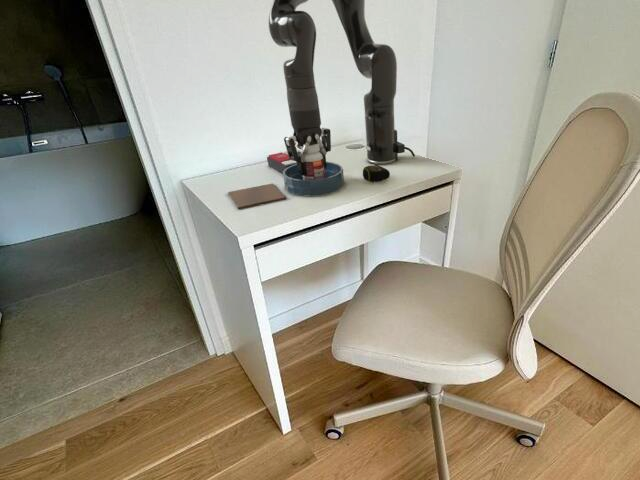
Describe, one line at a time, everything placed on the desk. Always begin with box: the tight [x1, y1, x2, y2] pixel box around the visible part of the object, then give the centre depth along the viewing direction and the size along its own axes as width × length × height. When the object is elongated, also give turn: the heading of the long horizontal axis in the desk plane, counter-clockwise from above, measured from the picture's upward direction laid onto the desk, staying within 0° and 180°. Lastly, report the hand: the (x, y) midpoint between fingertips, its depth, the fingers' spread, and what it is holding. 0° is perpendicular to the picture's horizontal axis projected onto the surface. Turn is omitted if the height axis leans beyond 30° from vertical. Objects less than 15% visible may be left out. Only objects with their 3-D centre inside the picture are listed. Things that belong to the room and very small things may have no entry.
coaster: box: [227, 182, 287, 210], centre depth 103 cm, size 12×12×1 cm
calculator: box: [266, 151, 297, 175], centre depth 121 cm, size 11×4×15 cm
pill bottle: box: [300, 144, 325, 180], centre depth 106 cm, size 6×6×11 cm
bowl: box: [282, 161, 345, 197], centre depth 108 cm, size 16×16×4 cm
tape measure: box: [362, 164, 391, 183], centre depth 112 cm, size 7×7×4 cm
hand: (313, 171), depth 107 cm, fingers closed on pill bottle, 6 cm apart
